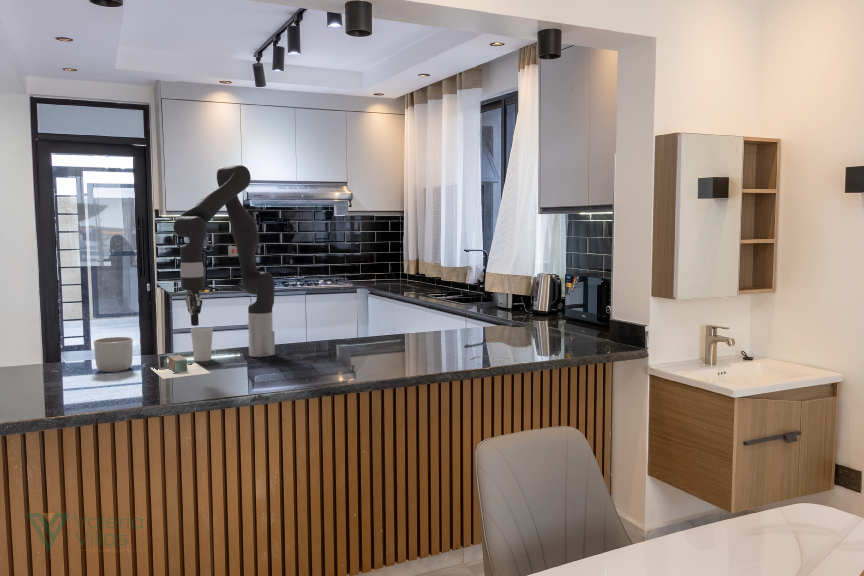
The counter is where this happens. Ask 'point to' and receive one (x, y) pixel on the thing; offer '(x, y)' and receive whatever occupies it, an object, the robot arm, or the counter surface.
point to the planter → (113, 353)
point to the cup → (202, 343)
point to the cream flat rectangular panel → (191, 370)
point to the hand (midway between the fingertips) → (194, 325)
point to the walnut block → (177, 363)
